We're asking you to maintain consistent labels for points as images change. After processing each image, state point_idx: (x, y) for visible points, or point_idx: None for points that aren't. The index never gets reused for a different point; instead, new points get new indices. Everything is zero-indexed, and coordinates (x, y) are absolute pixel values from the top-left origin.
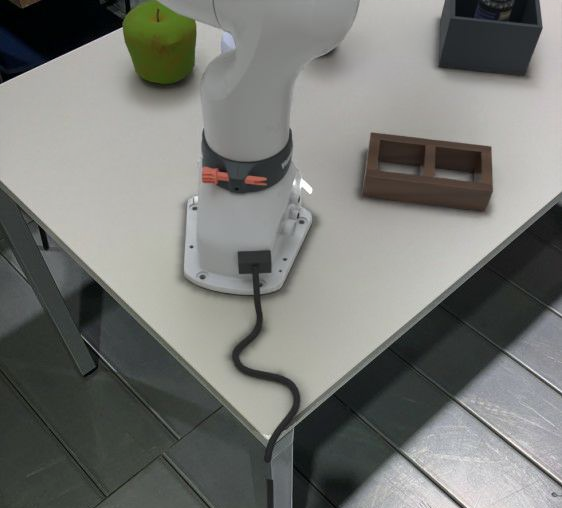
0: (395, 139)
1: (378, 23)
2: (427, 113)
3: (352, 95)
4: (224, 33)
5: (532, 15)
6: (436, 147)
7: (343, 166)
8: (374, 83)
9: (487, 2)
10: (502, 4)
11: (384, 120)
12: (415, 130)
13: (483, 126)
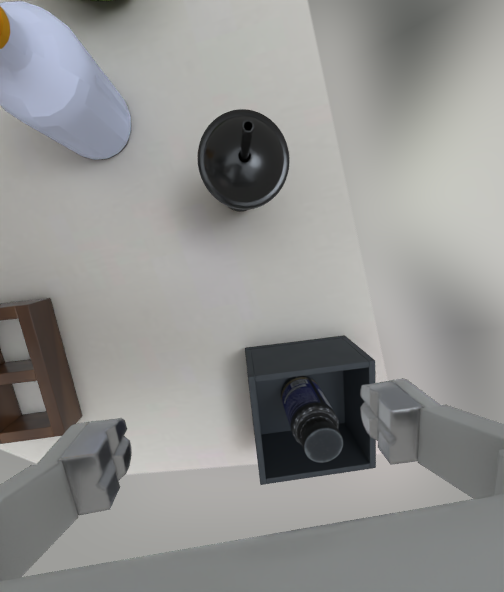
0: (27, 335)
1: (320, 261)
2: (150, 349)
3: (152, 259)
4: (8, 2)
5: (307, 462)
6: (38, 381)
7: (14, 276)
8: (186, 280)
9: (298, 418)
10: (297, 437)
11: (118, 305)
12: (114, 342)
13: (150, 407)
